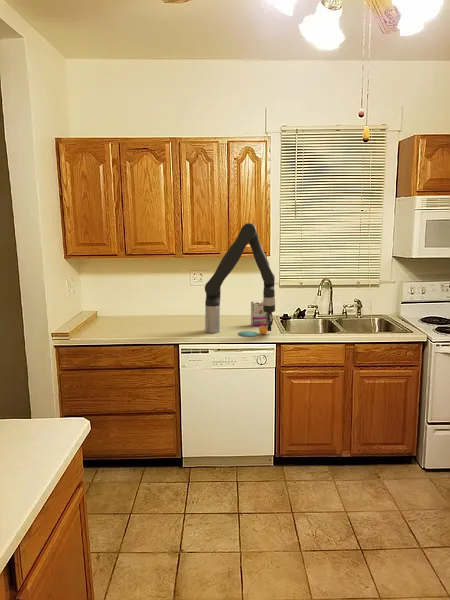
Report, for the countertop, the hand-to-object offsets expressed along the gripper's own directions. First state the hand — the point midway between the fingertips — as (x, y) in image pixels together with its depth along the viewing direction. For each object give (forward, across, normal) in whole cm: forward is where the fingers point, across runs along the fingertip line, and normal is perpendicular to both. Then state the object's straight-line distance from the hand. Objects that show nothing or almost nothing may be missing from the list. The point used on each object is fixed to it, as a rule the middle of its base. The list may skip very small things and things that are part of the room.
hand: (269, 330), depth 283 cm
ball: (-1, 0, -4) cm, 4 cm away
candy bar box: (+2, -22, -2) cm, 22 cm away
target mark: (+2, 0, -14) cm, 14 cm away
